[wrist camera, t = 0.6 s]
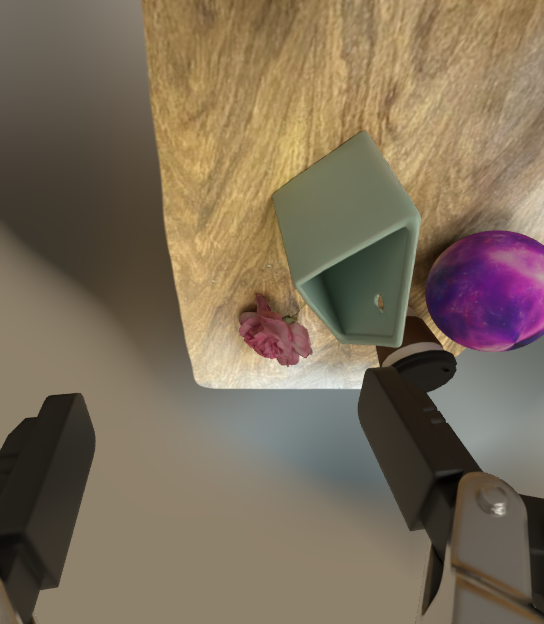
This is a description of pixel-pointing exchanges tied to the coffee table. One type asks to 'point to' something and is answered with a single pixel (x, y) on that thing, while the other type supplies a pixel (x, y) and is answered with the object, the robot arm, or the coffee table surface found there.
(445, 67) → the coffee table surface
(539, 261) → the decorative orb
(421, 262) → the coffee table surface
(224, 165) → the coffee table surface
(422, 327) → the coffee cup
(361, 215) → the planter
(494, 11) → the coffee table surface
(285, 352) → the flower
